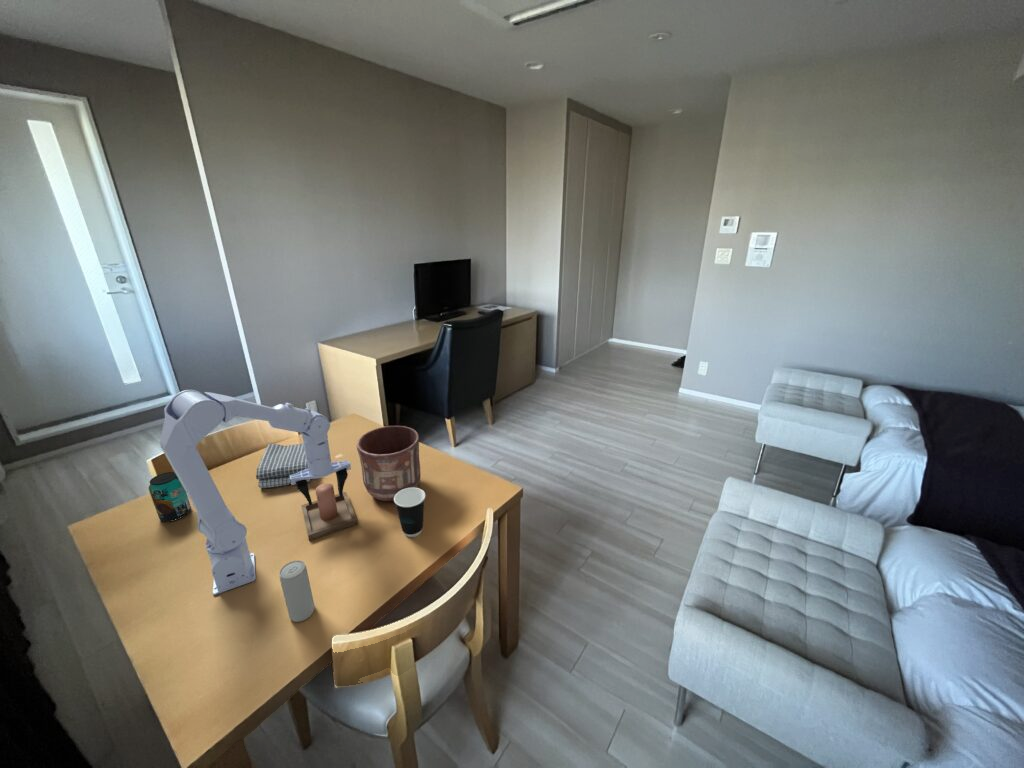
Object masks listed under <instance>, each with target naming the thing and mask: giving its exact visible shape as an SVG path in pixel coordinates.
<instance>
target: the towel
mask: <svg viewBox="0 0 1024 768" xmlns="http://www.w3.org/2000/svg"><path fill="white" fill-rule="evenodd" d="M257 466H258V467H257V468H256V474H255V478H256V480H258V488H260V489H266V488H267V489H268V488H275V487H282V485H283V486H290V485H289V484H291V480H290V475H293V474H296V473H298V472H300V471H303V470H305V469H307V468H308V465H307V460H306V455H305V449H304V444H303V443H298V444H292V445H281V444H279V443H278V444H277V443H269V444H268V445H267V446H266V448H265V452H264V454H263V455H262V456H261V459H260V462H259V464H258V465H257ZM310 482H311V479H309V480H307V483H310ZM274 486H275V487H274Z"/></svg>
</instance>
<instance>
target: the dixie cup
mask: <svg viewBox="0 0 1024 768" xmlns="http://www.w3.org/2000/svg"><path fill="white" fill-rule="evenodd" d="M425 499H426V492H425V491H424V490H423V489H421V488H419V487H416V488H406V489H403V490H401V491H399V492H398V493H397V494H396V495H395V497H394V501H393V502H394V504H395V506H396V510H397V515H398V518H399V523H400V527H401V531H402V532H403V534H404V536H406V537H408V538H414V537H417V536H419V535H420V534H422V531H423V527H424V511H425V510H424V509H425Z"/></svg>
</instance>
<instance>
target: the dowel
mask: <svg viewBox="0 0 1024 768" xmlns="http://www.w3.org/2000/svg"><path fill="white" fill-rule="evenodd" d="M315 494H316V501H318V507H319V512H320V518H321V519H322V520H324V521H328V520H332V519H334V518H335V517H336V516H337V515H338V512H337V506H336V500H335V495H336V494H335V489H334V484H332V483H328V482H327V483H322V484H319V485H318V486H317V487H315Z"/></svg>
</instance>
